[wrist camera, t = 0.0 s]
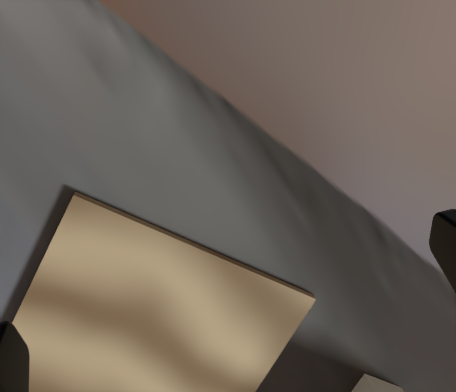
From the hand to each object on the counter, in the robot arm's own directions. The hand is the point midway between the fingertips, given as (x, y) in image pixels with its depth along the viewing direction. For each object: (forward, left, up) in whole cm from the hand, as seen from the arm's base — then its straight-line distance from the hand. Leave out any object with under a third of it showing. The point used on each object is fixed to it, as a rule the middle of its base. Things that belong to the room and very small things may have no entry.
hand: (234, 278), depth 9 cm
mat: (-12, -4, -15) cm, 20 cm away
